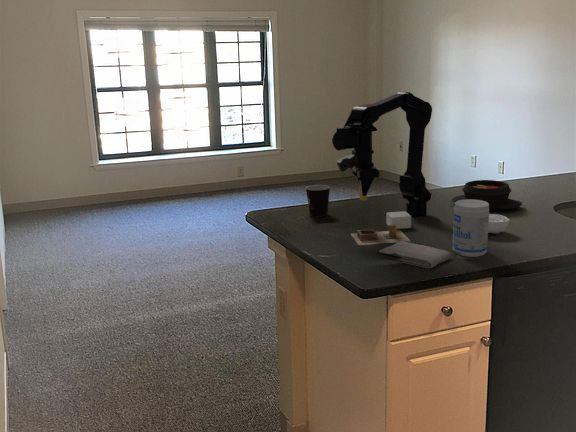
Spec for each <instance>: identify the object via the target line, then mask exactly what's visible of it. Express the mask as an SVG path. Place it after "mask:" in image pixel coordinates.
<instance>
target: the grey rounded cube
mask: <svg viewBox="0 0 576 432" xmlns="http://www.w3.org/2000/svg"><path fill="white" fill-rule="evenodd" d="M385 214H386V226H388V227H389V225H396V230H400V229H410V228H411V229H412V217H411V216H410V215H409V214H408V213H407V212H406V211H405V210H404V211H403V210H402V211H391V212H386V213H385Z"/></svg>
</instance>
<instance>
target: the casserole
mask: <svg viewBox="0 0 576 432" xmlns="http://www.w3.org/2000/svg"><path fill="white" fill-rule="evenodd" d="M461 190H462V192H463V194H460V195H457V196H454V197H453V198H452V199H451V202H454V203H455V202H456V201H459V200H465V199H474V200H482V201H485V202H487V203H489V211H495V210H512V209H516V208H519V207H521V206H522V205H523V202H522V201H519V200H515V199H511V198H509V196H510V194H511V192H512V189H511V187H510V185H509V184H508V183H507V182H505V181H500V180H493V179H492V180H491V179H480V180H479V179H477V180H471V181H467V182H466V183H464V187H463V188H462V189H461Z"/></svg>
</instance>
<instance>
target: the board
mask: <svg viewBox="0 0 576 432" xmlns="http://www.w3.org/2000/svg"><path fill="white" fill-rule="evenodd" d="M350 235H351V237H352V239H354V242H356V244H357V245H358V246H366V245H367V246H368V245H379V244H392V243H394V244H395V243H396V242H400V241H404V242H411V240H410V239H409V238H408V236H406V234H404V233H403V231H402V230H400V229H396V225H389V226H388V230H385V231H376V230H375V229H373V228H370V229H369V228H368V229H358V230H356V233H350Z"/></svg>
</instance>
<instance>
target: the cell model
mask: <svg viewBox="0 0 576 432" xmlns="http://www.w3.org/2000/svg"><path fill="white" fill-rule="evenodd" d="M510 220H511V219H509V218H508V217H507V216H505V215H501V214H498V213H489V223H488V234H493V235H494V234H497V235H498V234H500V233H502V232H503V231H504V230H506V229H507V227H508V225H509V223H510Z"/></svg>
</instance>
